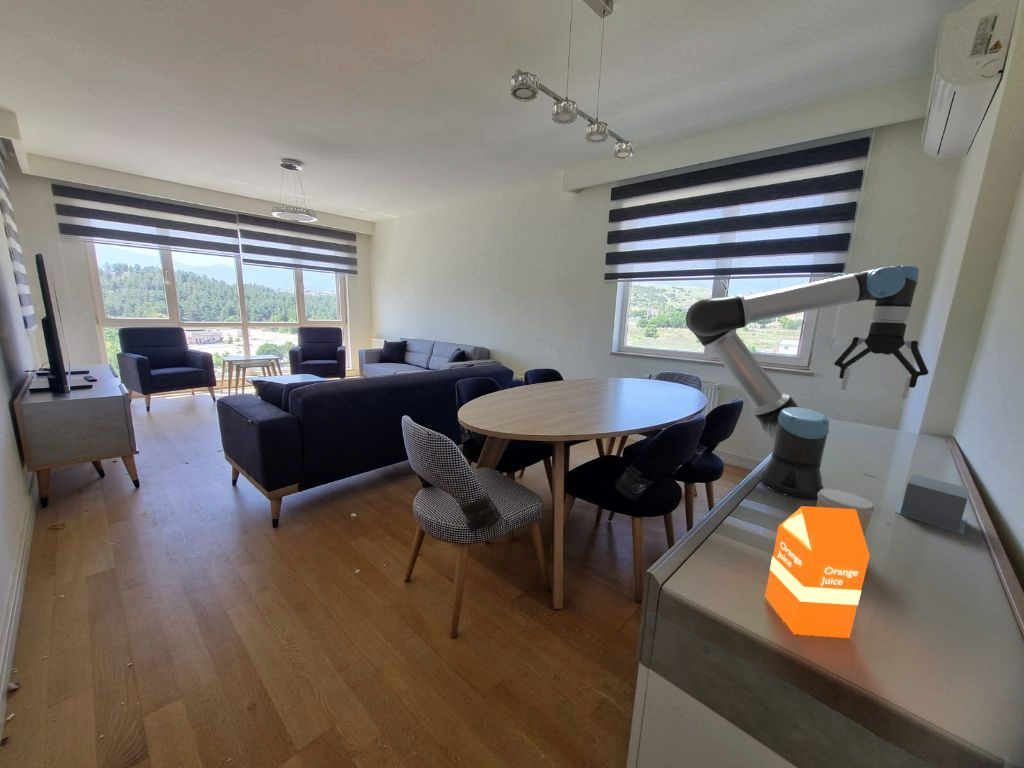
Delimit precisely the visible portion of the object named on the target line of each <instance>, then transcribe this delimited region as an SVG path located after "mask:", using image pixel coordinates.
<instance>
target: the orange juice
mask: <svg viewBox="0 0 1024 768" xmlns="http://www.w3.org/2000/svg"><path fill="white" fill-rule="evenodd" d="M774 544H775V545H774V548H773V554H772V557H771V560H770V567H769V574H768V580H767V584H766V590H765V594H764V595H765V596H764V598H765V597H766V598H767V600H768V601H769V603H770V604H771V605H772V606H773V608H774V609H775V610H776V612H777V613H778V614H779V616H780V617H781V618H782V620H783V621H784V622H785V623H786V624H787V625H788V627H789V628H790V630H791V631H792V632H793V633H792V632H791V631H790V630H789V631H790V632H791V633H792V634H793V635H796V634H799V636H811V635H813V636H814V637H829V638H831V637H832V638H844V639H846V638H847V639H850V636H851V632H852V628H853V625H854V620H855V616H856V613H857V609H858V608H857V607H858V606H859V601H860V598H861V594H862V588H863V585H864V584H863V583H864V580H865V576H866V572H867V569H868V564H869V560H870V557H871V555H870V552H869V549H868V545H867V542H866V538H865V536H864V535H863V532H862V528H861V525H860V522H859V518H858V515H857V511H856V509H840V508H823V507H817V506H803V505H801V506H800V507H799V508H798V510H796V511H795V512H793V513H792V514H791V515H790V516H789V517H788V518H786V519H785V520H784V521H783V522H782V523H780V524H778V528H777V533H776V538H775V543H774ZM779 616H778V617H779ZM782 620H781V621H782ZM783 621H782V622H783ZM784 622H783V623H784ZM788 627H787V628H788ZM789 628H788V629H789Z"/></svg>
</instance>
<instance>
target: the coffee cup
mask: <svg viewBox="0 0 1024 768" xmlns="http://www.w3.org/2000/svg"><path fill="white" fill-rule="evenodd" d="M817 496H818V499H816V501H817V502H816V507H823V508H840V509H856V511H857V515H858V518H859V522H860V525H861V528H862V532H863V535H864V537H865V535H866V534H867V532H868V531H867V530H868V528H869V524H870V522H871V518H872V515H873V514H874V512H875V506H874V503H873V502H871V501H870V500H869V499H867V498H865V497H863V496H862V495H859V494H857V493H854V492H851V491H847V490H843V489H837V488H831V487H829V488H828V487H827V488H824V489H821V490H820V492H818V495H817Z"/></svg>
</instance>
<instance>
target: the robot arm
mask: <svg viewBox="0 0 1024 768" xmlns="http://www.w3.org/2000/svg"><path fill="white" fill-rule="evenodd" d="M919 273H920V270H919V268H918V267H917V266H914V265H892V266H880V267H877V268H874V269H869V270H864V271H860V272H855V273H854V272H853V273H852V272H850V273H849V272H848V273H847V272H842V273H840V272H839V273H835V274H833V275H832V276H831V277H830V278H828V279H823V280H818V281H813V282H809V283H805V284H801V285H799V284H798V285H796V286H795V285H794V286H791V287H786V288H781V289H777V290H772V291H771V290H770V291H767V292H763V293H759V294H758V293H757V294H754V295H749V296H748V295H747V296H743V295H741V294H737V295H733V296H726V297H725V296H724V297H714V298H713V297H711V298H705V299H700V300H698V301H697V302H694V303H693V304H692V305H691V306H690V307H689V308H688V310H687V312H686V315H685V324H686V326H687V328H688V329H689V330H690V332H691V333H693V334H694V336H695V337H696V338H697V340H698V341H699V342H700V344H701V345H702V346H703V347H704V348H710V349H711V350H712V351H713V352H714V354H715V355H716V357H717V358H718V359H719V361H720V362H721V364H722V365H723V366H724V368H725V369H726V370H727V372H728V373H729V374H730V375H731V377H732V378H733V380H734V381H735V382H736V384H737V385H738V387H739V388H740V390H742V392H743V393H744V394H745V396H746V397H747V398H748V400H749V401H750V402H751V404H752V405H753V408H752V409H753V410H752V413H753V415H754V416H755V417H756V419H757V420H758V422H759V424H760V425H761V428H762V430H763V431H764V432H765V433H767V435H769V436H770V437H771V438H772V439H773V440H774V443H773V447H772V452H771V453H772V454H771V458H770V459H769V461H768V463H767V465H766V467H765V468H764V470H763V471H762V472H761V473H760V474H761V475H760V480H761V481H760V483H761V482H762V483H763V484H764V485H765V486H767V487H769V488H771V489H773V490H775V491H777V492H779V493H778V494H780V493H782V494H781V495H783V494H786V495H788V497H790V496H792V497H791V498H794V497H795V499H799V498H802V500H807V499H808V500H812V501H813V500H816V501H817V500H818V496H817V495H818V492H820V490H821V489H825V488H824V486H823V481H822V474H821V465H822V461H823V456H824V452H825V447H826V442H827V439H828V434H829V432H830V428H829V426H830V421H829V419H828V417H827V416H826V415H824V414H823V413H821V412H818V411H815V410H813V409H809V408H804V407H799V405H798V404H797V403H796V401H795V400H794V399H793V398H792V397H791V394H789V393H783V392H781V390H780V389H779V388H778V387H777V385H776V383H775V382H774V381H773V380H772V379H771V377H770V376H769V374H767V372H766V371H765V370H764V368H763V366H762V365H761V364H760V363H759V362H758V360H757V359H756V358H755V355H753V354H752V352H751V351H750V350H749V348H748V346H747V345H746V343H744V341H743V340H742V339H741V337H740V336H739V334H738V333H737V330H739V329H742V328H746V327H747V325H748V324H750V323H755V322H759V321H766V320H769V319H775V318H779V317H786V316H791V315H796V314H801V313H807V312H812V311H815V310H821V309H826V308H830V307H836V306H841V305H846V304H851V303H856V302H858V303H859V302H862V301H875V303H874V308H873V312H872V317H871V320H872V322H871V323H870V326H869V330H868V335H867V337H866V338H864V337H859V336H854V337H853V339H852V341H851V343H850V345H849V346H848V347H847V348H846V349H845V350H844V351H843V353H842V354H841V355H840V356H838V358H837V359H836V360H835V362H834V364H833V365H834V366H837V367H839V368H840V371H839V375H838V377H839V379H842V382H841V388H840V390H841V391H845V390H847V389H848V383H849V377H850V373H851V368H849V367H850V366H852V365H853V364H854V363H856V362H858V361H859V360H861V359H862V358H864V357H865V356H867V355H868V354H870V353H873V354H877V355H879V354H881V355H888V356H889V355H893V356H894V357H895V358H896V359H897V360H898V361H899V362H900V364H901V365H902V366H903V367H904V368H905V370H907V372H909V373H908V374H910V375H906V380H905V382H904V383H905V384H904V388H903V391H902V396H901V400H906V399H907V398H908V395H909V392H910V391H909V390H910V388H915V387H916V386H917V382H918V378H919V377H920V376H926V375H928V374H929V370H928V367H927V365H926V363H925V361H924V359H923V356H922V354H921V352H920V349H919V345H920V344H919V341H918V340H905V334H906V330H907V324H906V322H908V320H909V317H910V313H911V310H912V308H911V307H912V303H913V299H914V295H915V292H916V288H917V286H918V285H917V284H918V280H919ZM863 343H864V344H865V346H867V347H866V348H864V349H863V350H862V351H861V352H859V353H858V354H856V355H854V356H853V357H852V358H850V359H849V360H847V361H846V362H845V360H846V359H847V358H848V357H849V356H850V355H851V354H852V353H853V351H855V350H856V348H857V347H858V346H859V345H860V346H861V345H862V344H863ZM903 346H906V347H907V349H909V350H910V352H911V354H912V355H913V358H914V360H915V363H916V365H917V367H918V369H919V371H918V370H917V369H916V368H915V367H914V366H913V365H912V363H911V362H910V361H909V360H908V359H907V358H906V356H905V355H904V354H903V353H902V352H901V350H900V349H901V348H902V347H903ZM762 483H761V484H762ZM763 484H762V485H763ZM764 485H763V486H764ZM765 486H764V487H765ZM767 487H766V488H767ZM769 488H768V489H769ZM771 489H770V490H771ZM773 490H772V491H773ZM775 491H774V492H775ZM777 492H776V493H777ZM786 495H785V496H786Z"/></svg>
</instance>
